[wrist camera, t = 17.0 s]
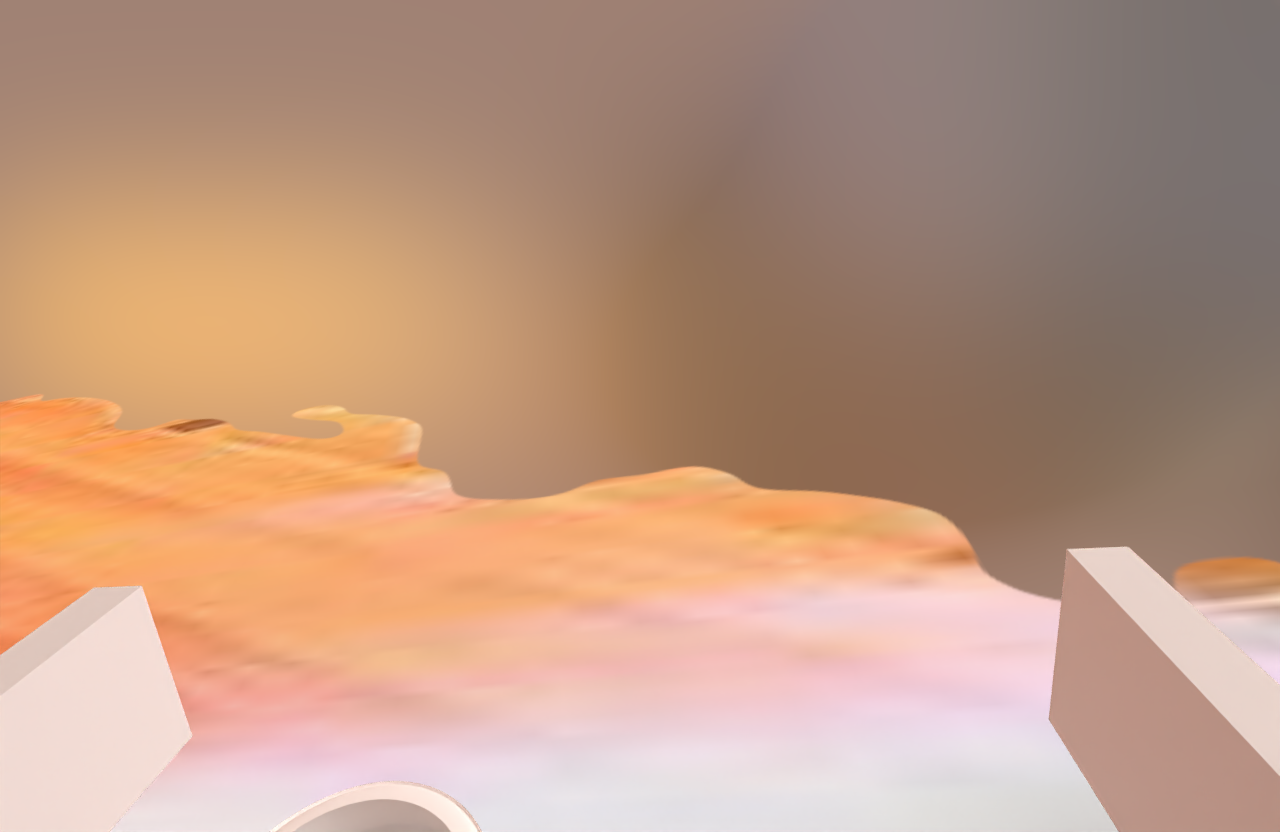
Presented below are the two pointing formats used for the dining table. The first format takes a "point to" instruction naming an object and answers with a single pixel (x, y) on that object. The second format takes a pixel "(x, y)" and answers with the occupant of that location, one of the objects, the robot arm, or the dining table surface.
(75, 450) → the dining table surface
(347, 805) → the jar
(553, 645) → the dining table surface
